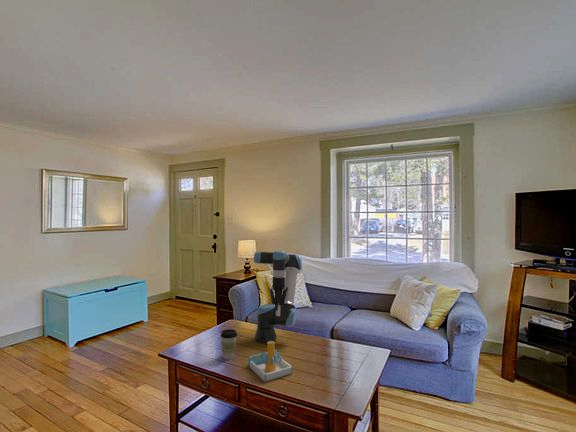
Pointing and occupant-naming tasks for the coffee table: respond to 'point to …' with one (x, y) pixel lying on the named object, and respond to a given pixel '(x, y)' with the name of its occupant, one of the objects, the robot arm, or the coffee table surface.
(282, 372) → the white square tray
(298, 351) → the coffee table surface
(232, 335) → the coffee cup
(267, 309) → the robot arm
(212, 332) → the coffee table surface
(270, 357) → the orange tube with rings
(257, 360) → the gate
